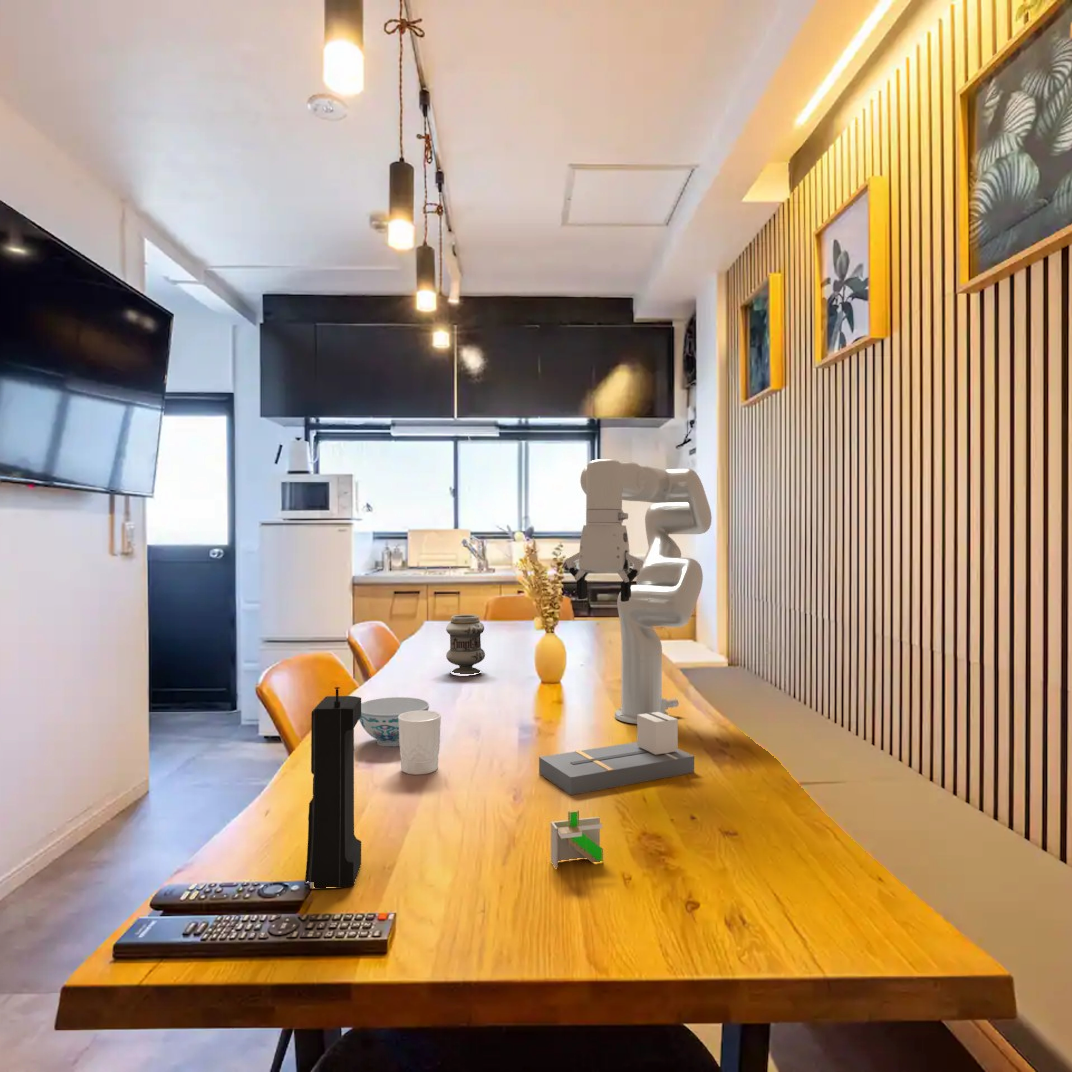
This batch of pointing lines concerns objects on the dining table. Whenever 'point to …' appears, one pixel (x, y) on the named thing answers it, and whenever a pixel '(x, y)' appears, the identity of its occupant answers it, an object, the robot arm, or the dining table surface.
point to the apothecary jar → (465, 643)
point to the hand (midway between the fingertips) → (603, 600)
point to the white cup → (419, 741)
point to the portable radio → (333, 794)
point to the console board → (612, 767)
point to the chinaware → (387, 717)
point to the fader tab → (657, 733)
